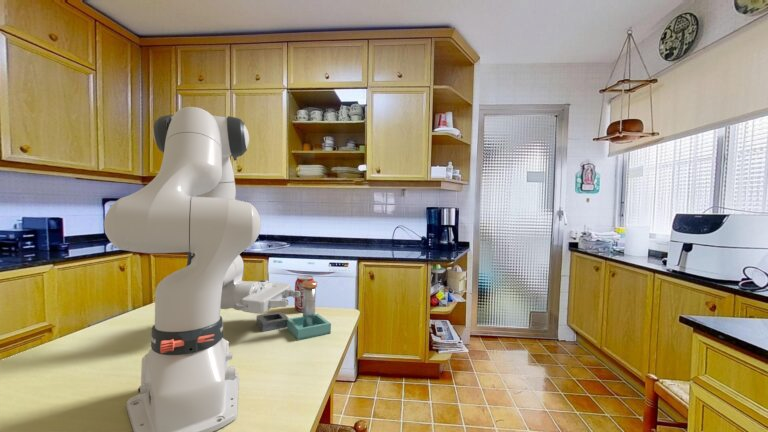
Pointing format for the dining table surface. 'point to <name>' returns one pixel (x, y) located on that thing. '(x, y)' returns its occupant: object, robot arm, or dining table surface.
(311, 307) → the lock pin
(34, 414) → the dining table surface
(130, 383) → the dining table surface
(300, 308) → the soda can
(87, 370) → the dining table surface
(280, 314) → the block
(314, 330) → the tray
